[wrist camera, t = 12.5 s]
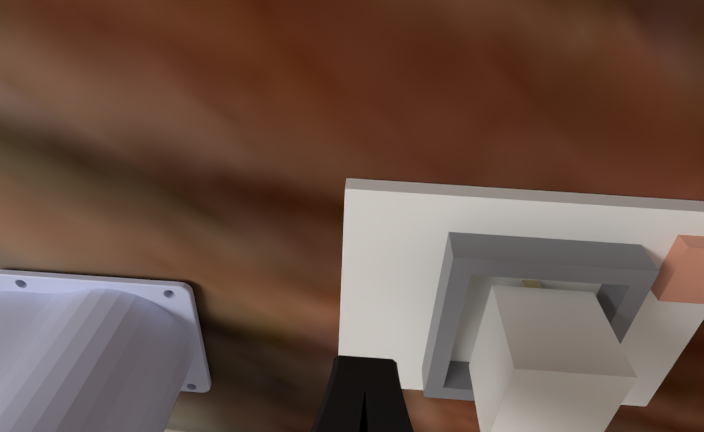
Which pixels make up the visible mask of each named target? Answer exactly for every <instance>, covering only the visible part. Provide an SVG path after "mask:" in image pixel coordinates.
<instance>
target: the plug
mask: <svg viewBox="0 0 704 432" xmlns="http://www.w3.org/2000/svg"><path fill="white" fill-rule="evenodd" d="M469 370H470V375H471V381H472V387H473V393H474V398H475V404H476V410H477V415H478V421H479V427H480V432H604V431H605V429H606V428H607V426H608V424H609V423H610V421H611V420H612V418H613V416H614V415H615V413H616V411H617V410H618V408H619V407H620V405H621V403H622V402H623V400H624V398H625V397H626V395H627V394H628V392H629V390H630V389H631V387H632V385H633V384H634V382H635V380H636V379H637V376H636V374H635V372H634V370H633V369H632V367H631V365H630V363H629V361H628V359H627V357H626V355H625V353H624V351H623V349H622V347H621V345H620V343H619V341H618V339H617V337H616V335H615V333H614V331H613V329H612V327H611V325H610V323H609V322H608V320H607V318H606V316H605V314H604V312H603V310H602V308H601V306H600V304H599V302H598V300H597V298H596V296H595V294H594V292H585V291H571V290H557V289H543V288H542V287H541V284H540V282H539V281H537V280H522V283H521V286H520V287H514V286H500V285H492V287H491V290H490V294H489V297H488V300H487V304H486V307H485V311H484V314H483V318H482V321H481V325H480V328H479V332H478V335H477V339H476V342H475V346H474V349H473V353H472V356H471V360H470V363H469Z"/></svg>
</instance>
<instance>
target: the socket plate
mask: <svg viewBox="0 0 704 432" xmlns="http://www.w3.org/2000/svg"><path fill="white" fill-rule="evenodd" d="M522 280H537V281H539V282H540V284H541V287H542V288H543V289H557V290H571V291H585V292H594V294H595V296H596V298H597V300H598V302H599V304H600V306H601V308H602V310H603V312H604V314H605V316H606V318H607V320H608V322H609V323H610V325H611V327H612V329H613V331H614V333H615V335H616V337H617V339H618V341H619V343H620V345H621V347H622V349H623V351H624V353H625V355H626V357H627V359H628V361H629V363H630V365H631V367H632V369H633V370H634V372H635V374H636V376H637V379H636V380H635V382H634V384H633V385H632V387H631V389H630V390H629V392H628V394H627V395H626V397H625V398H624V400H623V402H622V403H621V405H633V406H647V404H648V403H649V401H650V400H651V398H652V397H653V395H654V394H655V392H656V391H657V389H658V388H659V386H660V385H661V383H662V382H663V380H664V378H665V377H666V375H667V374H668V372H669V371H670V369H671V368H672V366H673V365H674V363H675V362H676V360H677V359H678V357H679V356H680V354H681V353H682V351H683V350H684V348H685V347H686V345H687V344H688V342H689V341H690V339H691V338H692V336H693V335H694V333H695V332H696V330H697V329H698V327H699V326H700V324H701V323H702V321H703V320H704V201H694V200H678V199H663V198H647V197H632V196H616V195H601V194H585V193H570V192H554V191H539V190H523V189H508V188H492V187H477V186H461V185H446V184H430V183H415V182H399V181H384V180H368V179H353V178H346V186H345V204H344V230H343V255H342V280H341V305H340V330H339V355H343V356H357V357H371V358H385V359H393V360H394V361H395V362H397V368H398V374H399V379H400V384H401V388H402V389H415V390H423V393H424V397H431V398H445V399H458V400H472V401H475V398H474V393H473V387H472V381H471V375H470V370H469V363H470V360H471V356H472V353H473V349H474V346H475V342H476V339H477V335H478V332H479V328H480V325H481V321H482V318H483V314H484V311H485V307H486V304H487V300H488V297H489V294H490V290H491V287H492V285H500V286H514V287H520V286H521V283H522ZM339 355H338V356H339Z"/></svg>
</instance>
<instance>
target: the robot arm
mask: <svg viewBox="0 0 704 432" xmlns="http://www.w3.org/2000/svg"><path fill="white" fill-rule="evenodd" d="M168 290H170V291H172V292H170V291H168ZM210 387H211V378H210V373H209V368H208V363H207V358H206V353H205V348H204V343H203V338H202V333H201V328H200V323H199V318H198V313H197V308H196V304H195V299H194V294H193V290H192V288H191V287H190V286H189V285H188V284H186V283H183V282H174V281H160V280H145V279H131V278H117V277H102V276H88V275H73V274H59V273H45V272H30V271H16V270H0V432H164V430H165V428H166V425H167V423H168V420H169V418H170V415H171V413H172V410H173V408H174V405H175V403H176V400H177V398H178V395H179V393H180V391H187V392H201V393H203V392H207V391H209V390H210ZM311 432H414V431H413V428H412V425H411V422H410V419H409V415H408V412H407V408H406V404H405V401H404V397H403V393H402V389H401V384H400V379H399V374H398V368H397V362H395V361H394V360H393V359H385V358H371V357H357V356H343V355H339V356H337V357H335V358H334V362H333V367H332V372H331V376H330V379H329V383H328V386H327V390H326V393H325V396H324V398H323V401H322V404H321V407H320V410H319V412H318V415H317V417H316V420H315V422H314V425H313V427H312V429H311Z"/></svg>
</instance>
